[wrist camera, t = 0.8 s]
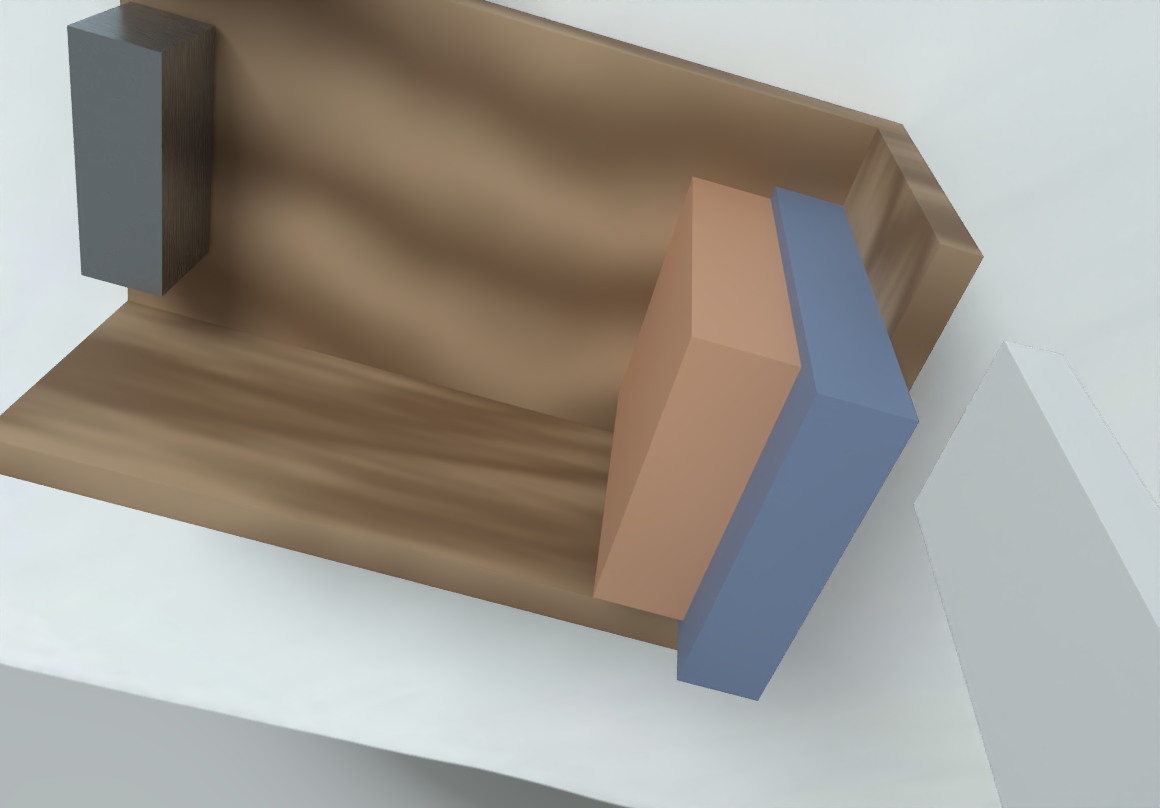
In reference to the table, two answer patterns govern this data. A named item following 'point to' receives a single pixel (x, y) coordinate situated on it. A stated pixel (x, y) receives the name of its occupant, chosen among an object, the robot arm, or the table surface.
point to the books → (748, 430)
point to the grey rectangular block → (142, 144)
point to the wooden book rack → (447, 289)
